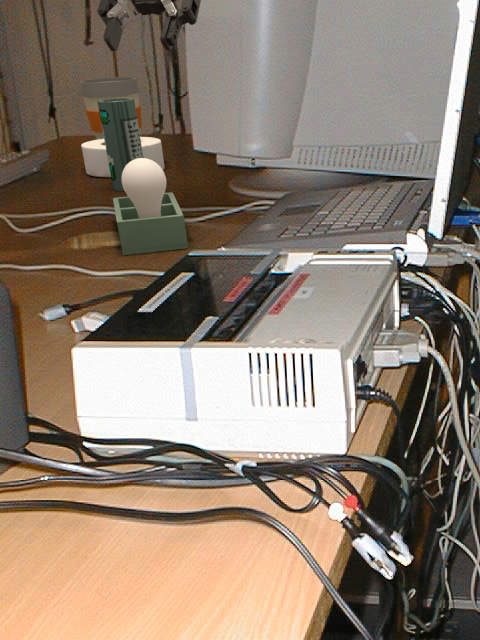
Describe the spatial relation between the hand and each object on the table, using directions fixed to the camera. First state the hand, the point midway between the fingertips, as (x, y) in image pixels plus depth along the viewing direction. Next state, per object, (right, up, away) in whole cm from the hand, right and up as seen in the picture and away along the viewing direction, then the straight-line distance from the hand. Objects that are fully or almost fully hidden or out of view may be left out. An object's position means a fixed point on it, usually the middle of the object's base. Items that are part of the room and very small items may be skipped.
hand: (137, 46), depth 124 cm
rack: (-1, -23, +11) cm, 25 cm away
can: (-14, -3, +45) cm, 48 cm away
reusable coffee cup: (-26, +18, +82) cm, 88 cm away
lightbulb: (0, -24, +7) cm, 25 cm away
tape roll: (-19, +6, +61) cm, 64 cm away
